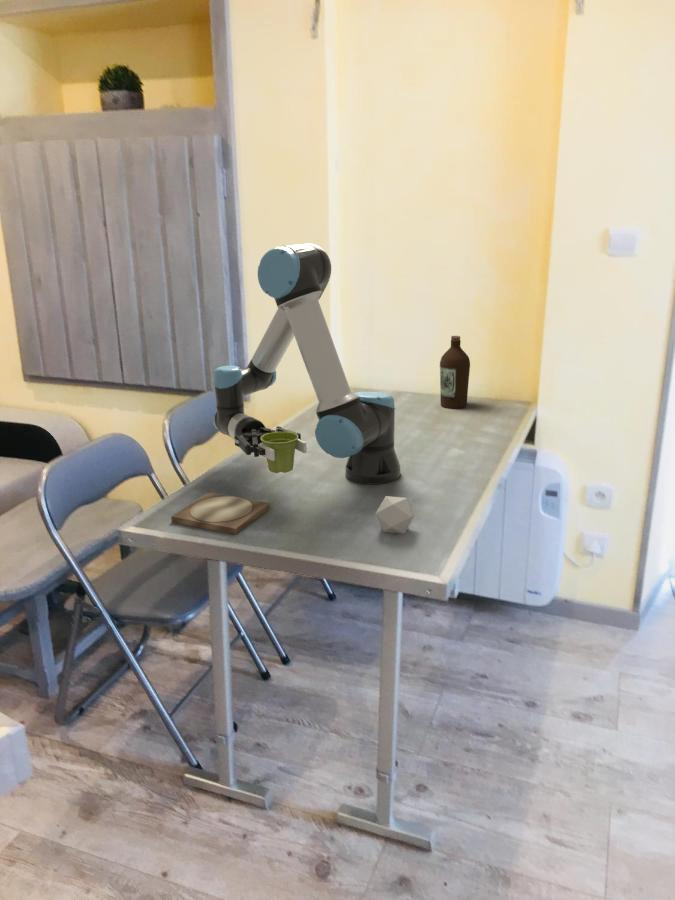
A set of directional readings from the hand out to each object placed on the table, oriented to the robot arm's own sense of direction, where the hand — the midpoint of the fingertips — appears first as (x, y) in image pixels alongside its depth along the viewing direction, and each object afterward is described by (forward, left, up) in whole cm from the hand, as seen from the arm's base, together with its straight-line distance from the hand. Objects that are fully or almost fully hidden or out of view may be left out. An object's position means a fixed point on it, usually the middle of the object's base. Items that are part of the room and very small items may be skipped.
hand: (289, 451), depth 184 cm
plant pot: (+4, -2, -6) cm, 8 cm away
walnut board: (+13, +13, -14) cm, 23 cm away
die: (-29, +5, -14) cm, 33 cm away
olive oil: (-12, -101, -14) cm, 103 cm away
